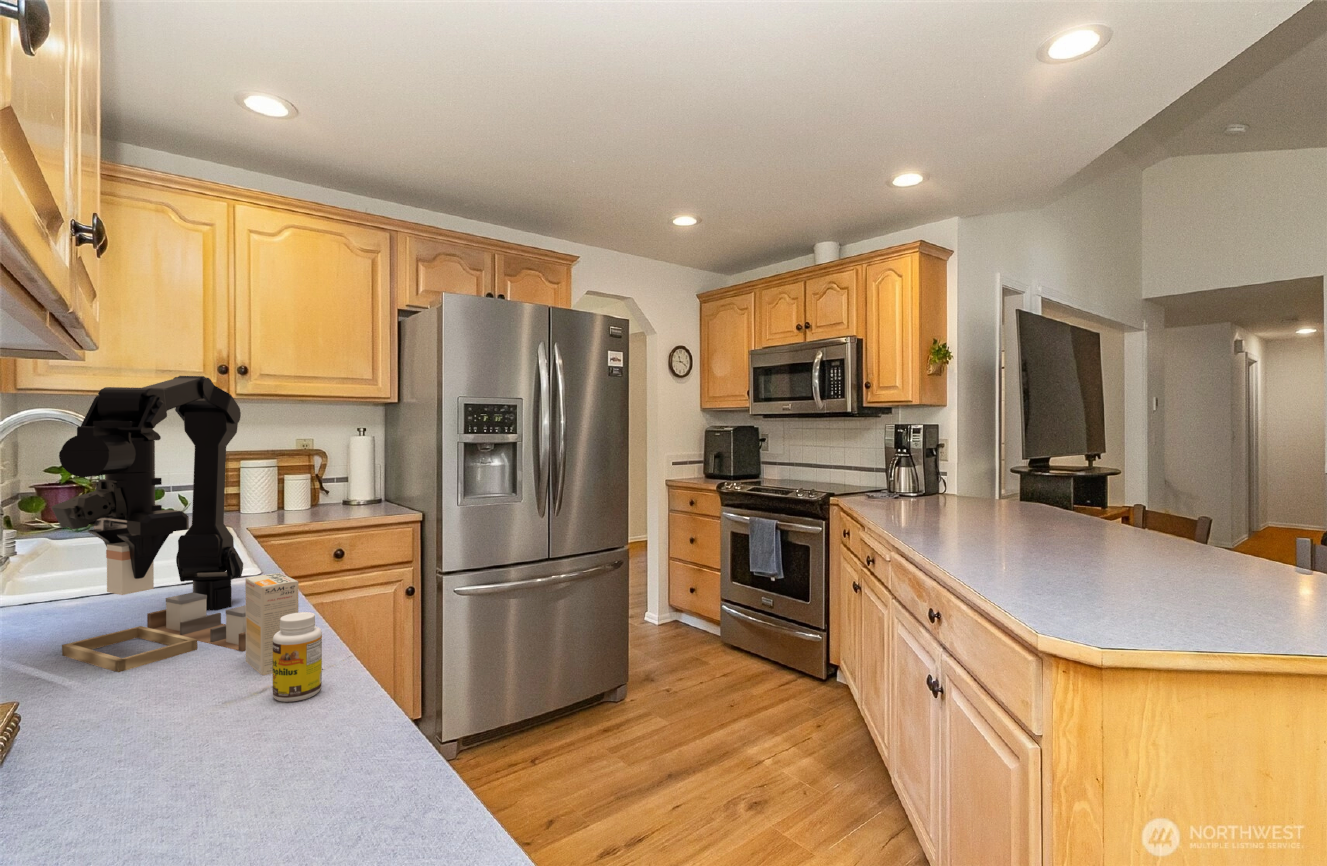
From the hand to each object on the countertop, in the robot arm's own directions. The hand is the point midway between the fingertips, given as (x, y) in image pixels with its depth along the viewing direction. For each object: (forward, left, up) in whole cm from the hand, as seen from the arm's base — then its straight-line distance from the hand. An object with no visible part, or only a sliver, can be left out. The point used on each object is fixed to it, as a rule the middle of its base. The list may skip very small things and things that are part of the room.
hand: (130, 576), depth 96 cm
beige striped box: (0, 0, -2) cm, 2 cm away
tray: (0, 0, -12) cm, 12 cm away
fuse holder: (+2, +11, -12) cm, 16 cm away
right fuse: (+10, +11, -11) cm, 19 cm away
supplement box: (+23, +6, -12) cm, 27 cm away
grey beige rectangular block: (-6, +11, -11) cm, 17 cm away
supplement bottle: (+34, +2, -12) cm, 36 cm away
